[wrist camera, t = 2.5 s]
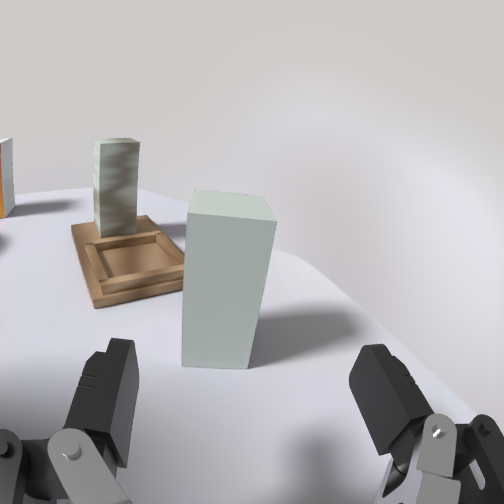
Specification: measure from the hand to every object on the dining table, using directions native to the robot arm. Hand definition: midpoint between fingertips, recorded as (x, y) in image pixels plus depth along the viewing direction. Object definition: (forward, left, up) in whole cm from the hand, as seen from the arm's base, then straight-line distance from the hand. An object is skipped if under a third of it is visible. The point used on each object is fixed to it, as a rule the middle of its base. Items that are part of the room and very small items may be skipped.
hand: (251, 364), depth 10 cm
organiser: (-11, +26, -10) cm, 30 cm away
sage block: (0, +11, -10) cm, 15 cm away
